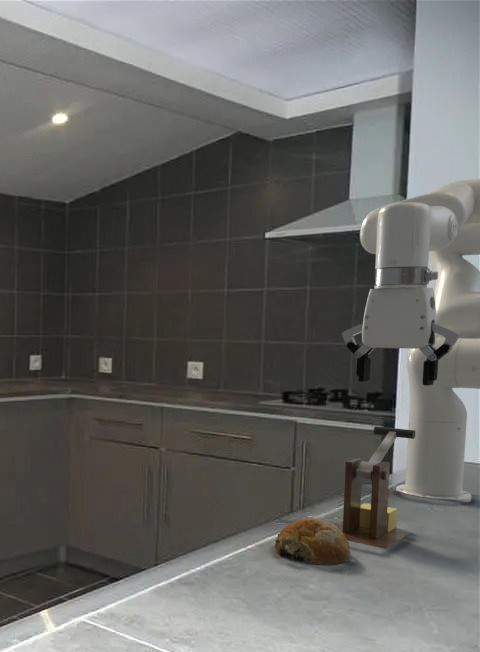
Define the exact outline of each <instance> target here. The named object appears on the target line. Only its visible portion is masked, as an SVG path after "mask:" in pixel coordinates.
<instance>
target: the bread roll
mask: <svg viewBox="0 0 480 652" xmlns="http://www.w3.org/2000/svg"><path fill="white" fill-rule="evenodd" d="M335 525H336V524H333V522H330V521H328V520H325V519H322V518H318V517H304V518H303V517H302V518H300V519H297V520H295V521H292V522H291V523H289V524H287V525H285V526H284V527H283V528H282V529H281V531H280V532H279V533H277V537H276V539H275V540H274V542H275V543H274V549H275V551H276V554H278V555H279V556H280V557H282V558H288V559H289V558H290V559H293V560H294V561H296V562H305V563H308V564H313V565H319V566H334V565H340V564H346V563H349V562H350V560H351V557H352V556H351V546H350V541H348V540H347V539H346V538H345V536H344V534H343V533H342V532H341V530H340V529H338V528H337V526H335Z"/></svg>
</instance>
